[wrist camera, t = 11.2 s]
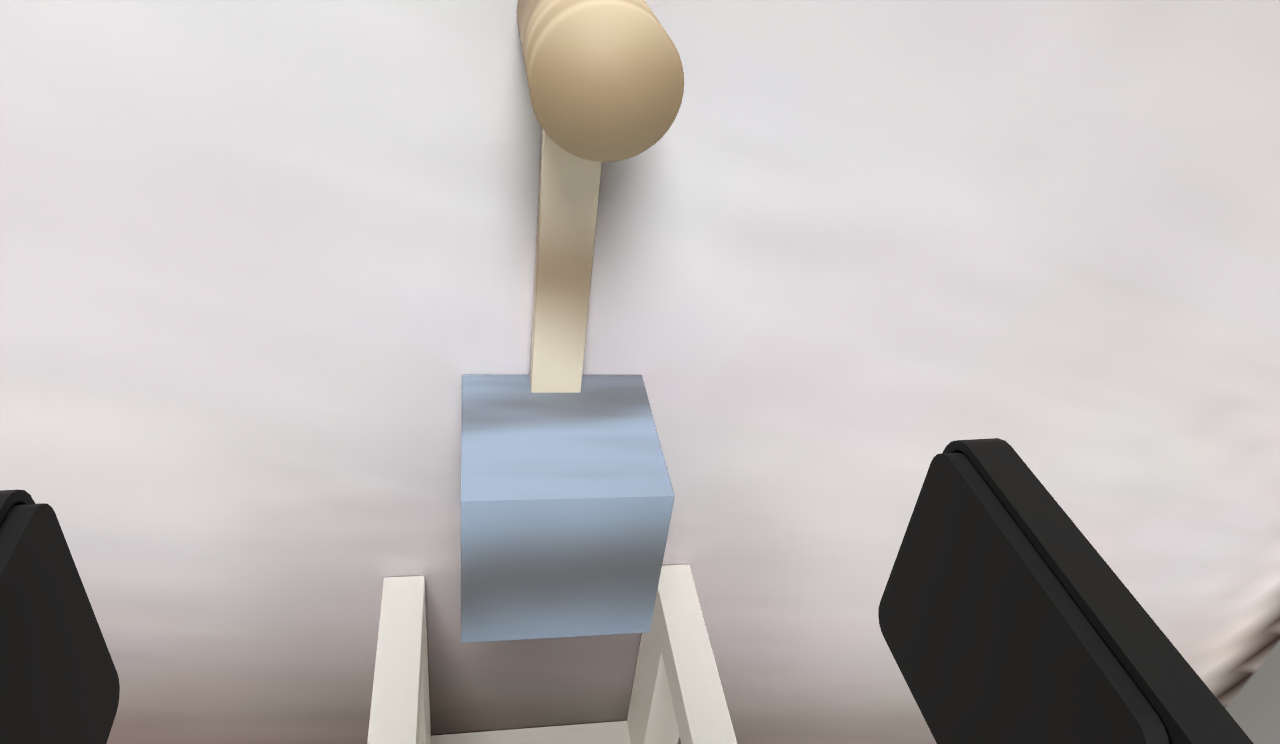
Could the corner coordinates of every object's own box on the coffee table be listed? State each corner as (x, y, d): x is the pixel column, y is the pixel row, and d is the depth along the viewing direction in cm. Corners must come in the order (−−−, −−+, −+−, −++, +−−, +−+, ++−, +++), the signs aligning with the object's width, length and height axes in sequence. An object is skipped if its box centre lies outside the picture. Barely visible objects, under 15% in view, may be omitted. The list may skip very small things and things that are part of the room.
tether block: (461, -64, 22) (459, -6, 17) (699, -41, 23) (761, 18, 18) (462, 508, 32) (461, 643, 28) (623, 503, 34) (649, 632, 29)
